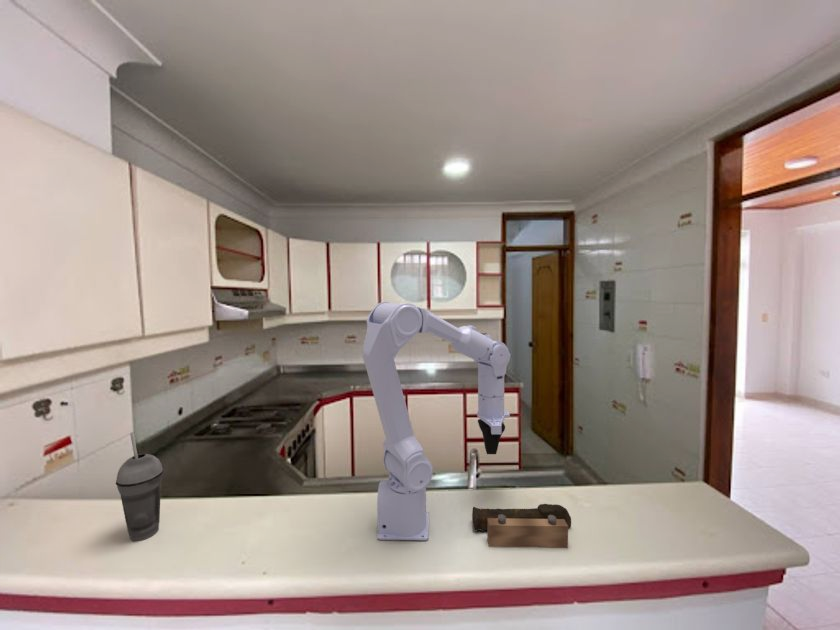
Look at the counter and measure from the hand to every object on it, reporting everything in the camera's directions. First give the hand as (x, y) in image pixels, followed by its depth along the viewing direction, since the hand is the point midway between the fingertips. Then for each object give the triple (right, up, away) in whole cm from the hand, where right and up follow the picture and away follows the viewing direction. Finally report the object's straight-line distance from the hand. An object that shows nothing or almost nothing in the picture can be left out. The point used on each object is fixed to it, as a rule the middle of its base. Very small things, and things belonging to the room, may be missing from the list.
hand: (491, 452), depth 81 cm
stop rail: (+3, -11, -15) cm, 19 cm away
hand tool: (+4, -11, -11) cm, 15 cm away
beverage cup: (-69, -11, -11) cm, 71 cm away
